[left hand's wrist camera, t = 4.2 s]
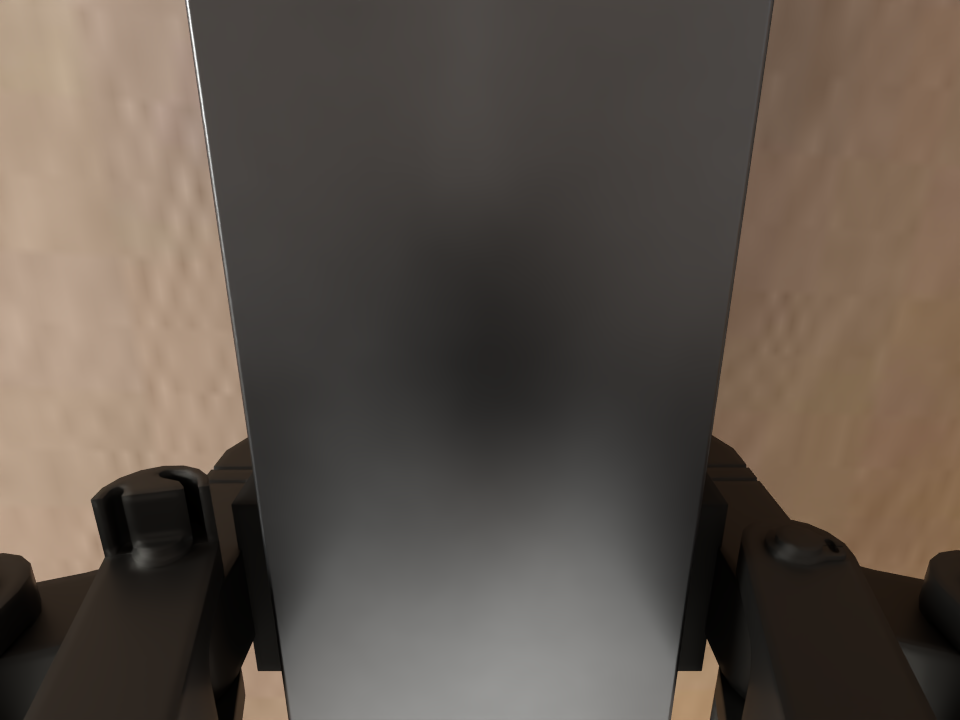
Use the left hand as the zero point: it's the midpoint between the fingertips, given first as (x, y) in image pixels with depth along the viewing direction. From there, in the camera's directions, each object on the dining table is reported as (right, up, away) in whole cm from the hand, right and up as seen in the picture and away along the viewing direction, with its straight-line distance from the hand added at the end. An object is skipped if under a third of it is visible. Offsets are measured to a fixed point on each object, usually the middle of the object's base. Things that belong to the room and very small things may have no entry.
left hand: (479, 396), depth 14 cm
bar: (0, +10, -3) cm, 10 cm away
